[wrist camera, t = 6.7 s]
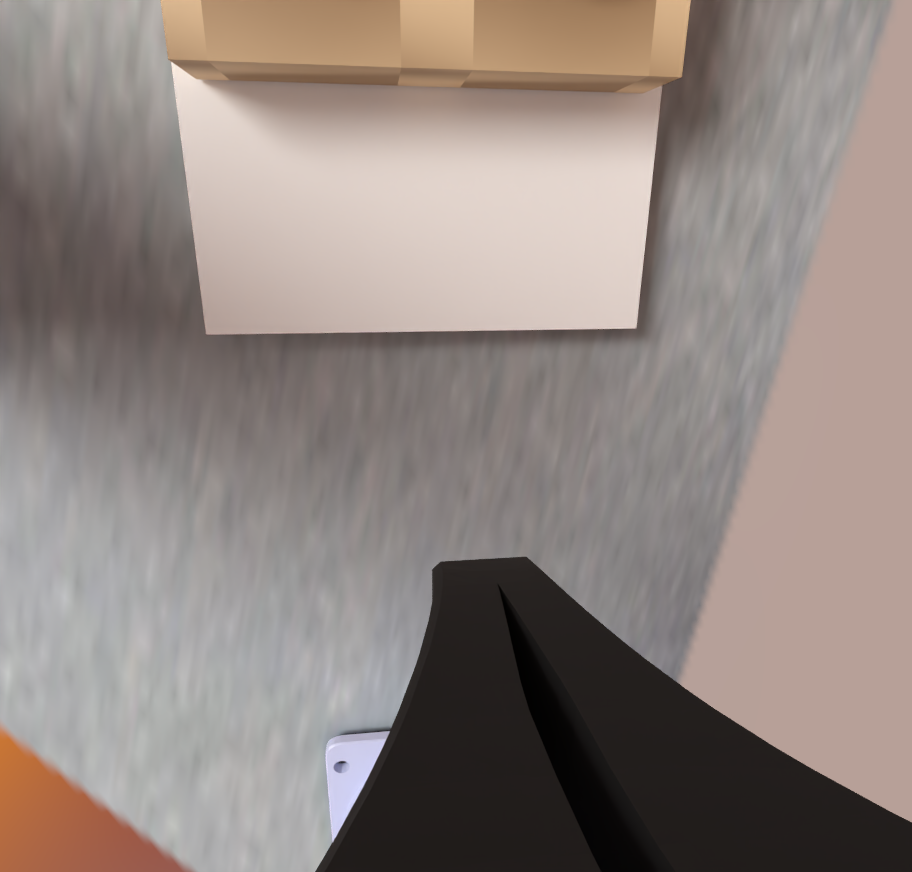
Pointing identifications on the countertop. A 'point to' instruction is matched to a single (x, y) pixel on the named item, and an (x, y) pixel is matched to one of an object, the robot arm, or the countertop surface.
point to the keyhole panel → (433, 42)
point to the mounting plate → (415, 206)
